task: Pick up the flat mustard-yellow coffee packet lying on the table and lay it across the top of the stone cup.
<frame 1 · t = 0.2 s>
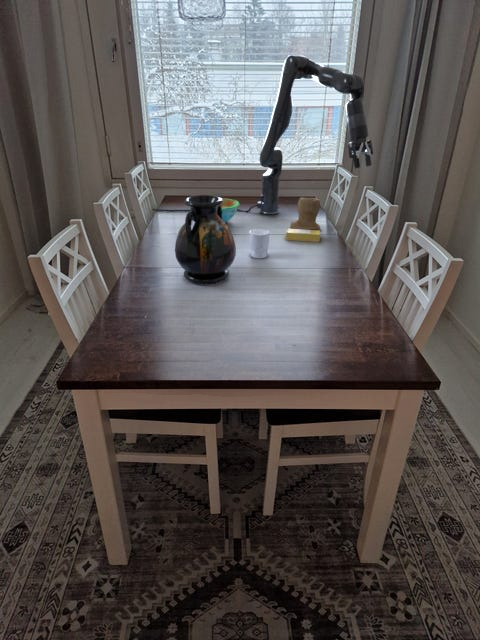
hand: (363, 167, 174), 31 cm above the table, tool tilted 20°, fingers open, 8 cm apart
white cup: (258, 256, 169), on the table
packet: (302, 238, 188), on the table
bowl: (217, 223, 210), on the table
stone cup: (303, 229, 202), on the table
amphora vase: (206, 277, 150), on the table
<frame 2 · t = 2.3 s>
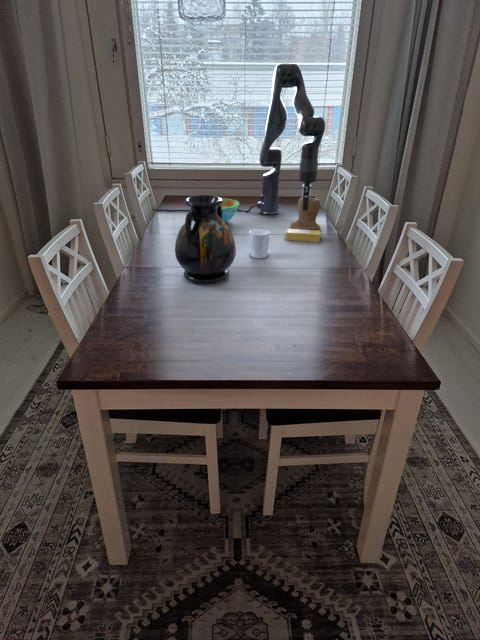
hand: (305, 208, 181), 14 cm above the table, tool pointing down, fingers open, 8 cm apart
nothing on the table moved.
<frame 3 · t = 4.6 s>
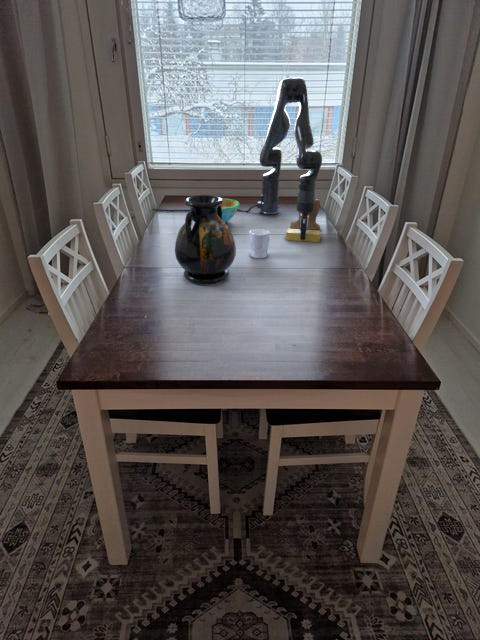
hand: (302, 237, 187), 1 cm above the table, tool pointing down, fingers closed on packet, 6 cm apart
packet: (302, 238, 188), on the table, touching gripper
everything else where it was.
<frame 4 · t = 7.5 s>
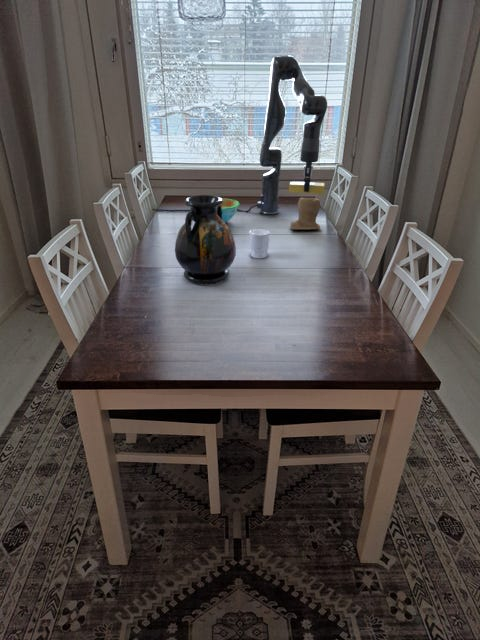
hand: (306, 189, 181), 21 cm above the table, tool pointing down, fingers closed on packet, 6 cm apart
packet: (306, 191, 182), point 20 cm above the table, touching gripper
everything else where it was.
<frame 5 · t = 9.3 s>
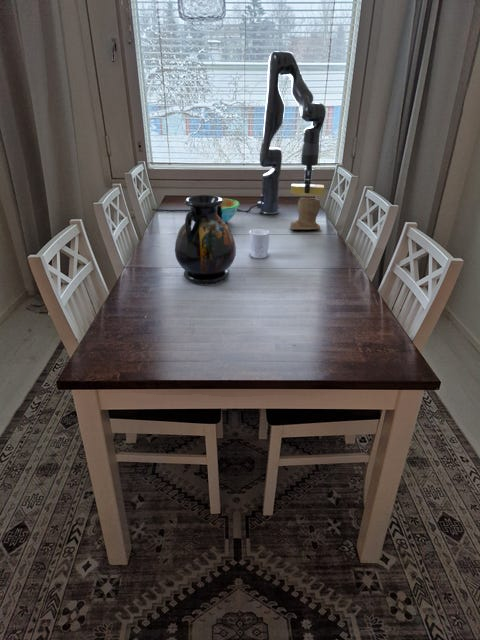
hand: (307, 191, 193), 18 cm above the table, tool pointing down, fingers closed on packet, 6 cm apart
packet: (306, 193, 193), point 17 cm above the table, touching gripper
everything else where it was.
when the fingers open (16 cm above the table, at t = 10.5 s): packet stays where it is, resting on stone cup.
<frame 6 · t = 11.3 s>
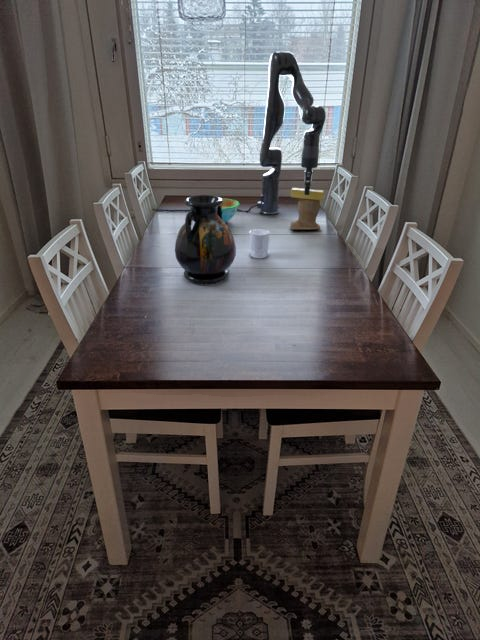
hand: (307, 192, 193), 17 cm above the table, tool pointing down, fingers open, 8 cm apart
packet: (306, 197, 194), point 15 cm above the table, tilted 5°, touching stone cup
stone cup: (303, 229, 202), on the table, touching packet
everything else where it was.
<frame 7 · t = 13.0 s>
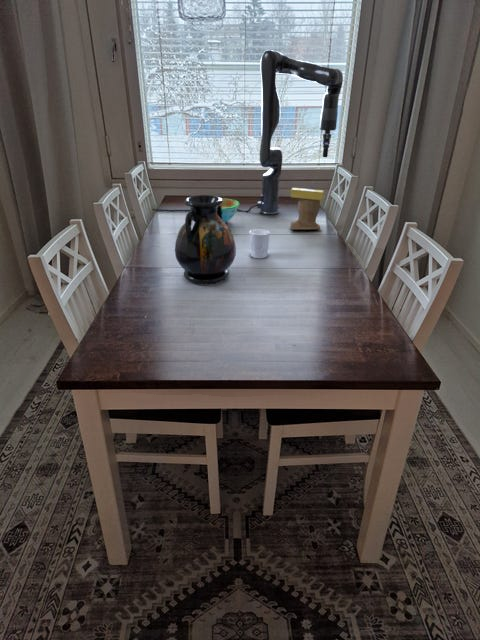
hand: (325, 155, 199), 32 cm above the table, tool pointing down, fingers open, 8 cm apart
nothing on the table moved.
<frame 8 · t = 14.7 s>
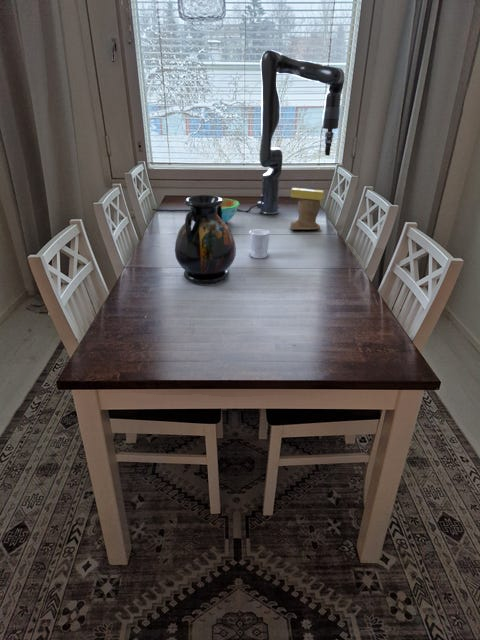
hand: (327, 154, 201), 32 cm above the table, tool pointing down, fingers open, 8 cm apart
nothing on the table moved.
at the end: packet inside the target area on the stone cup (0.0 cm from its centre), point 15.2 cm above the stone cup's base; packet touching stone cup; stone cup tilted 0° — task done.
